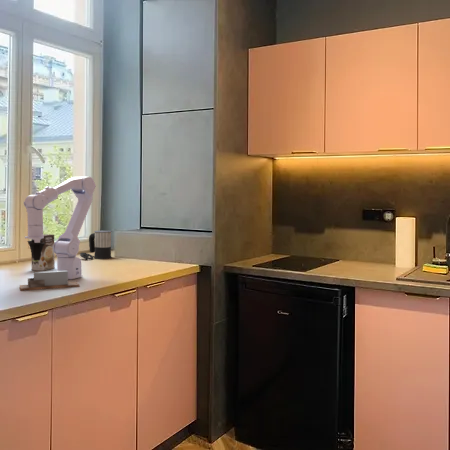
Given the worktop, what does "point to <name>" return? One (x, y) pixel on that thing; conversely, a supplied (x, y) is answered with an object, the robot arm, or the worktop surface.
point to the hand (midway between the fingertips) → (36, 259)
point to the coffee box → (45, 255)
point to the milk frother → (99, 245)
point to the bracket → (41, 285)
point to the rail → (52, 277)
